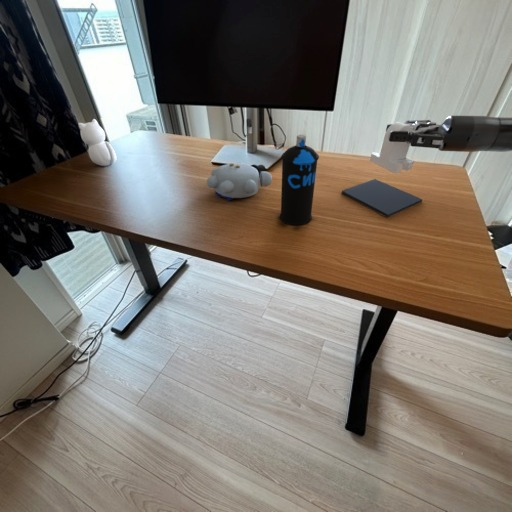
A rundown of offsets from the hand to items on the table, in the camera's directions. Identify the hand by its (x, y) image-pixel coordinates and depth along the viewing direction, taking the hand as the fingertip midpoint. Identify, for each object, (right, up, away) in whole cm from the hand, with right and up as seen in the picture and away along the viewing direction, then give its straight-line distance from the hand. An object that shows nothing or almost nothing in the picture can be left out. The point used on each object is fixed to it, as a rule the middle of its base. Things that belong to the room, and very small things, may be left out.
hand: (388, 132), depth 65 cm
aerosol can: (-22, -20, +4) cm, 30 cm away
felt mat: (+3, -14, +11) cm, 17 cm away
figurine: (-37, -10, +17) cm, 42 cm away
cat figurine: (-89, +5, +38) cm, 97 cm away
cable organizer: (+3, -6, +5) cm, 9 cm away
